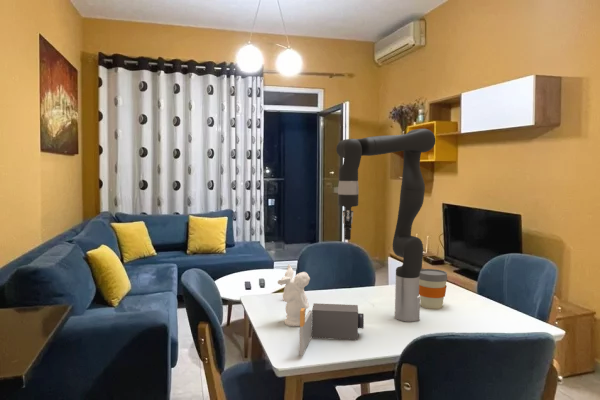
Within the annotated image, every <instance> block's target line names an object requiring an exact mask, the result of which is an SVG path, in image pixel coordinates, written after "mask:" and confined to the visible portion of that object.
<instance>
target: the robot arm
mask: <svg viewBox="0 0 600 400" xmlns="http://www.w3.org/2000/svg"><path fill="white" fill-rule="evenodd" d="M435 145H436V135H435V134H434V132H433V131H431V130H430V129H427V128H417V129H412V130H409V131H408V132H407V133H404V134H396V135H395V134H394V135H392V134H391V135H376V136H367V137H362V138H349V139H348V138H347V139H343V140H340V141H338V143H337V145H336V150H335V151H336V153H337V155H338V157H341V158H343V163H342V165H340V167H339V169H338V185H337V186H338V187H337V205H338V206H339V207H344V210H342V218H343V220H342V221H343V222H342V223H343V224H344V225H343V229H344V240H345V241H349V240H350V241H351V234H352V228H353V227H352V224H353V219H354V218H353V217H354V210H352V207H358V206H359V189H360V188H359V167H360V163H361V161H362V159H361V158H362V156H364V157H367V156H368V157H369V156H370V157H372V156H379V155H386V154H387V155H388V154H392V153H396V152H397V153H398V152H403V168H402V175H401V176H402V178H401V185H400V191H399V192H400V194H399V203H398V205H399V207H398V212H397V213H398V214H397V218H396V220H397V221H396V225H395V230H394V234H393V235H394V236H393V239H392V251H393V253H394V255H396V256H397V257H399V258H403V259H402V265H401V266H398V267H396V269H395V285H394V287H395V288H394V289H395V292H394V293H395V294H394V297H395V299H394V318H395V319H396V320H398V321H401V322H416V321H420V316H421V315H420V311H421V309H420V308H421V302H420V295H419V278H420V271H421V269H422V267H423V259H424V258H423V257H424V244H423V241H422V239H420V238H419V237H417V236H415V235H414V236H413V235H412V228H413V223H414V220H415V218H416V217H417V215H418V214H419V212H420V211H421V209H422V207H423V204H424V201H425V199H424V198H425V190H426V186H425V180H424V177H423V174H422V171H421V167H420V166H421V164H420V163H421V154H422V153H426V152H429V151H431V150H432V149H433V148H434V146H435Z"/></svg>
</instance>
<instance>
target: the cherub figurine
mask: <svg viewBox="0 0 600 400" xmlns="http://www.w3.org/2000/svg"><path fill="white" fill-rule="evenodd" d="M310 280H311V277H310V276H309V274H308V273H307V272H306V271H302V272H299V273H296V275H295V276H294V269H293V268H292V266H291V265H290V264H289V263H288V264H287V267H286V271H285V273H284V276H283V277H282V278H280V279H278V281H277V284H278V285H280V286H283V285H285V286H284V287H283V293H282V300H283V301H284V302H285V312H286V315H285V316H286V318H285V319H284V324H285V325H286V326H288V327H300V310H301V309H302V308H305V313H306V311H307V309H308V308H309V307H310V305H309V302H308V298H307V294H306V292H305V287H306V286H307V287H308V285H309V283H310Z"/></svg>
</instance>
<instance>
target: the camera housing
mask: <svg viewBox="0 0 600 400" xmlns="http://www.w3.org/2000/svg"><path fill="white" fill-rule="evenodd" d="M311 311H312V336H311V339H322V340H323V339H326V340H346V341H347V340H348V341H358V340H359V339H358V338H359V336H358V335H359V329H360V330H361V329H362V330H363V329H364V327H365V326H364V324H365V322H364V317H365V315H364V313H359V305H358V304H340V303H313V304H312V309H311Z"/></svg>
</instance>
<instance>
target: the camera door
mask: <svg viewBox="0 0 600 400" xmlns="http://www.w3.org/2000/svg"><path fill="white" fill-rule="evenodd" d="M311 339H312V310H308V312H307V314H306V312H305V308H302V309H301V310H300V326H299V345H298V346H299V354H298V355H299V356H303V355H304V354H305V351H306V349H307V347H308V345H309V342H310V341H311Z"/></svg>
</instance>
